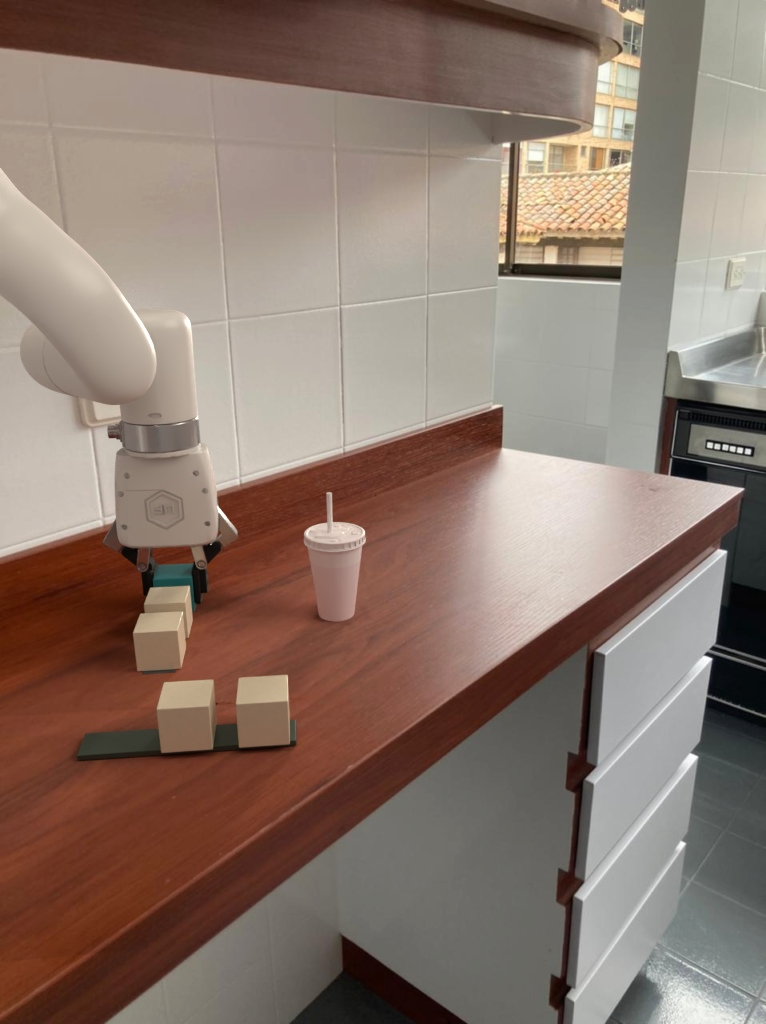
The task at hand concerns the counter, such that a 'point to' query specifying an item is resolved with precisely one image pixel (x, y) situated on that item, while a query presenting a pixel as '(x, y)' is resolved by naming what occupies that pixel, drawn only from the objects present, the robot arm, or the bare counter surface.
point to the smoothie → (335, 565)
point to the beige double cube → (163, 630)
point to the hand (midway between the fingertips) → (177, 598)
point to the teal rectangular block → (175, 578)
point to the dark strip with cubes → (204, 722)
